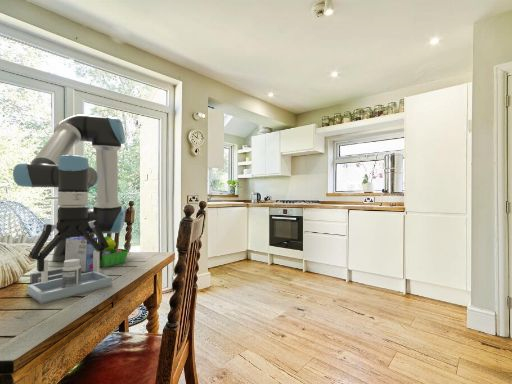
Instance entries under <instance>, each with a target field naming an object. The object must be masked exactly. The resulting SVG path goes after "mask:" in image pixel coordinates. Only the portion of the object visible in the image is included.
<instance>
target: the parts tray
mask: <svg viewBox="0 0 512 384" xmlns="http://www.w3.org/2000/svg"><path fill="white" fill-rule="evenodd" d="M111 286H113V276H110V275H107V274H104V273H101V272H100V271H99V272H95V271H93V270H91V271H87V272H85V273H81V284H78V285H74V286H70V287H66V288H62V278H59V279H54V280H50V281H48V283H45V284H44V283H42V282H40V283H33V284H31V283H30V284H27V288H26V291H27V292H26V293H27V295H28V296H30V297H31V298H32V299H34V300H35V301H36V302H38V303H39V304H40V305H43V304H47V303H50V302H54V301H57V300H62V299H65V298H70V297H73V296H76V295H81V294H83V293H88V292H89V293H90V292H91V291H96V290H99V289H103V288H107V287H111Z"/></svg>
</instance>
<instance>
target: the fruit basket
mask: <svg viewBox="0 0 512 384" xmlns="http://www.w3.org/2000/svg"><path fill="white" fill-rule="evenodd" d="M104 238H105V239H106V241H107V243H108V245H109V247H108V248H105V249H104V251H102V260H100V261H99V267H103V268H105V267H106V268H107V267H109V266H114V265H119V264H123V263H125V262H126V260H127V257H128V253H129V252H130V251H129V250H130V249H129V250H128V249H125V248H115V246H117V242H116V241H115V240H114V239H113V238H112V237H111V236H108V235H107V236H104Z"/></svg>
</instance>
